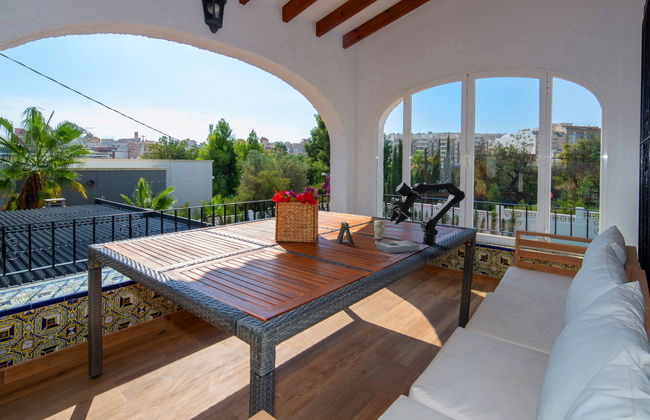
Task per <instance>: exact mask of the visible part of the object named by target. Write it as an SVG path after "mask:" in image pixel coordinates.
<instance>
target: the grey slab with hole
mask: <svg viewBox="0 0 650 420" xmlns="http://www.w3.org/2000/svg"><path fill="white" fill-rule="evenodd" d="M376 249H378V250H381V251H383V252H385V253H387V254H392V253H394V254H395V253H403V252H412V251H414V250H415V251H419V250H420V244H418V243H415V242H412V241H410V240H398V241H397V240H394V241H385V242H384V241H382V243H377V245H376Z"/></svg>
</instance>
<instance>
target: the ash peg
mask: <svg viewBox="0 0 650 420" xmlns="http://www.w3.org/2000/svg"><path fill="white" fill-rule="evenodd" d="M373 226H374V227H373V232H374V237H373V240H375V241H374V242H375V243H374V245H375V246H377V243H382V242H383V241H384V240H385V238H384V233H385V221H384V220H381V219H377V220H374V225H373Z"/></svg>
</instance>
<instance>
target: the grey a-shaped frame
mask: <svg viewBox="0 0 650 420" xmlns="http://www.w3.org/2000/svg"><path fill="white" fill-rule="evenodd" d="M340 226H341V227H340V229H339V232H338V234H337V238H336V242H337V243H339V244H348V243H349V244H350V243H351V242H353V243H354V240H353V237H352V233H351V231H350V224H349V223H348V222H346V221H342V222H341V223H340ZM345 236H346V239H344V237H345Z"/></svg>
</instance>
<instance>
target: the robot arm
mask: <svg viewBox="0 0 650 420" xmlns="http://www.w3.org/2000/svg"><path fill="white" fill-rule="evenodd" d="M443 190H446V191H447V193H448V194H449V195H448V198H447V200H446V201H445V202H444V203H443V204H442V205H441V206H440V207H439V208H438V209H437V210H436V211H435V212H434V213H433V215H432V216H430V217H428V216H426V217H425V218H424V219H423V220H421V223H420V228H421V230H422V232H423V239H422V241H421V244H424V245H428V246H431V245H432V246H433V245H438V243H437V242H436V238H437V235H438V233H439V231H438V230H437V229H436V226H437V225H438V222H439V221H440V220H441V219H442V218H443V217H444V216H445V215H446V213H448V211H450V209H452V208H453V207H454V206H455V205H457V204H459V203H461V202H462V201H463V200H464V199H466V194H465V192H464V191H462V190H460V188H458V187H457V186H455V185H454V184H453V183H452V182H442V183H440V182H439V183H430V184H429V183H428V184H427V183H419V182H417V183H416V182H415V183H414V184H413V185H412V186H409V185H408V184H407V183H406V182H401V183H399V185H398V186H397V187H396V189H395V192H396V193H398V194H399V195H400V196H402V197H403V198H404V199H400V198H397V199H394V198H392V199H391V202H390V204H391V205H392V207H391V210H392V213H391V216H390V219H389V222H390V223H392V222H393V221H395V222H394V224H395V225H399V224H400V223H402V222H404V221H406V220H409V219H411V217H412V216H413V213H412V212H411V211H410V209H412V208H413V207H414V206H413V205H414V204H415V202H416V201H417V200H419V201H422V195H421V194H425V193H428V192H432V191H443ZM419 194H420V195H419Z"/></svg>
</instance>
